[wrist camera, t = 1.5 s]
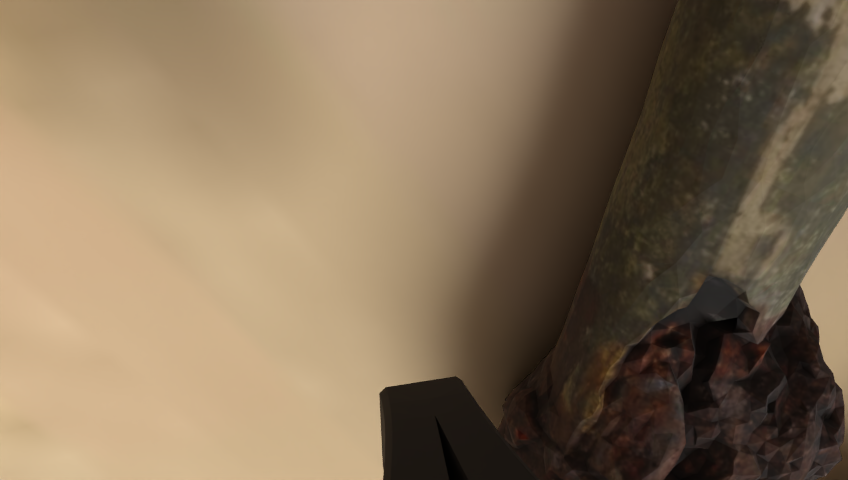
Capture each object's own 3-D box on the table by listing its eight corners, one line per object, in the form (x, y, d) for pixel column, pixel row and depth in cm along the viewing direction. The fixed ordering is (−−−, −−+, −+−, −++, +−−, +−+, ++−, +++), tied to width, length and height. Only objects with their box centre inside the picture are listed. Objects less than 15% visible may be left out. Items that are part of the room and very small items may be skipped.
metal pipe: (704, -253, 13) (980, -261, 8) (986, -154, 15) (1333, -116, 10) (446, 464, 21) (507, 660, 17) (647, 463, 23) (750, 636, 19)
